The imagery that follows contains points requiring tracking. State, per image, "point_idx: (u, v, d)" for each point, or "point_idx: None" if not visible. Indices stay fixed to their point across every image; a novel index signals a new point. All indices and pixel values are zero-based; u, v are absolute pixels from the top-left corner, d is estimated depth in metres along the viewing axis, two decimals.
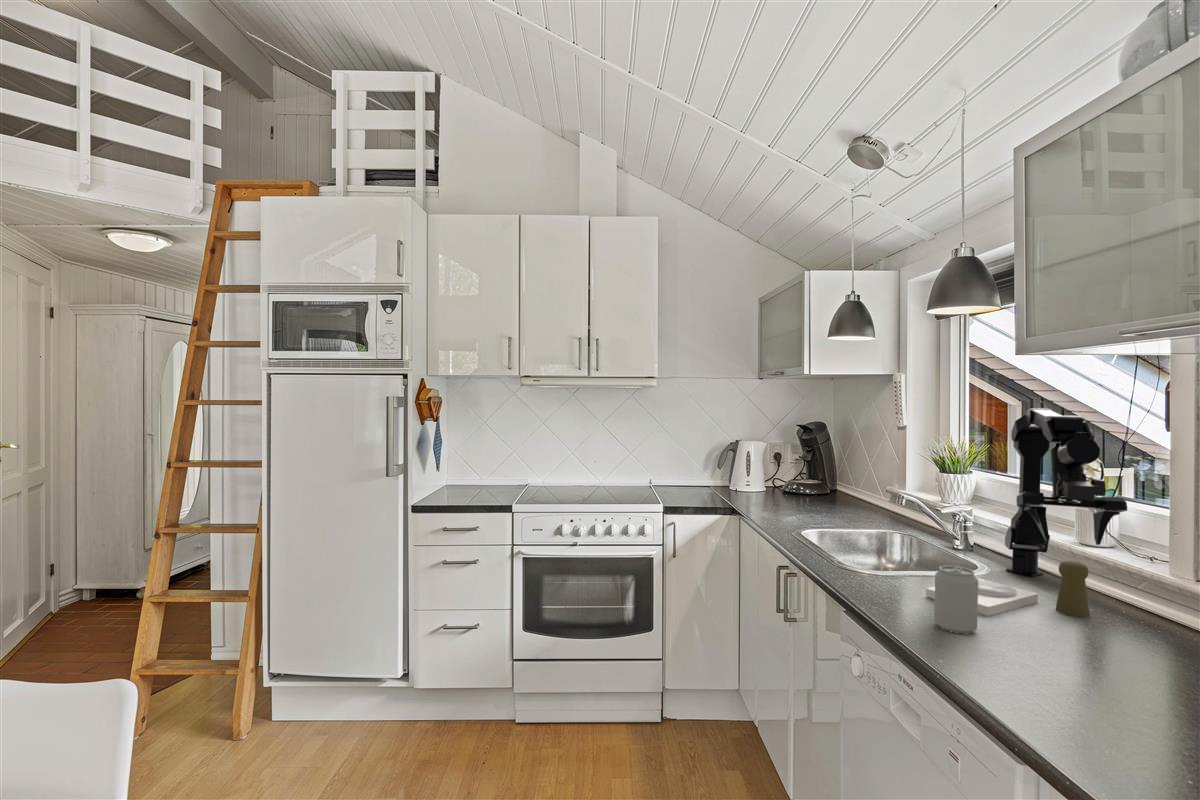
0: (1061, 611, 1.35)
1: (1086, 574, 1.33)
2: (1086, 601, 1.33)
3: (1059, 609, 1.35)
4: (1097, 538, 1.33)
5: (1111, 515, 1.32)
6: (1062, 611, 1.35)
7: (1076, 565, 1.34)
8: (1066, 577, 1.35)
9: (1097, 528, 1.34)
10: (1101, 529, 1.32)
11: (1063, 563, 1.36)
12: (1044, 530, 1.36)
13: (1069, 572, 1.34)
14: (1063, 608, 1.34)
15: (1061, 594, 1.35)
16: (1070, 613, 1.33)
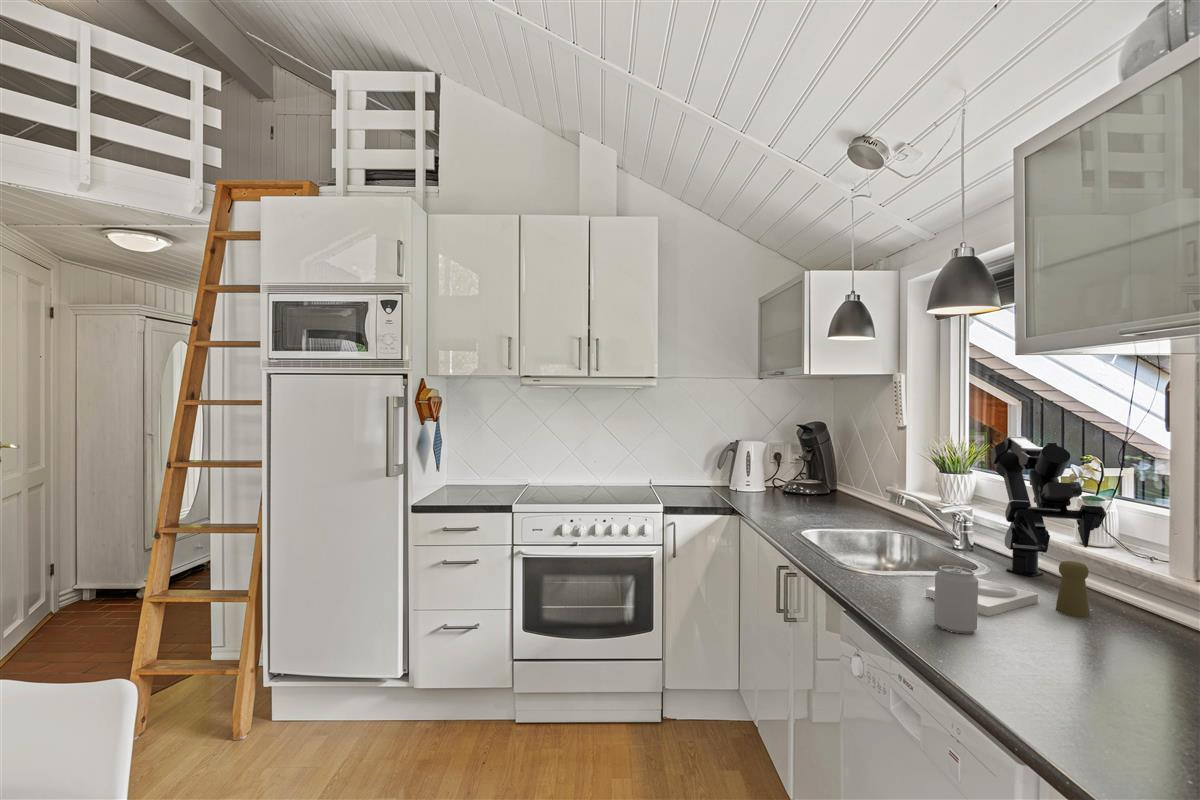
0: (1061, 611, 1.35)
1: (1086, 574, 1.33)
2: (1086, 601, 1.33)
3: (1059, 609, 1.35)
4: (1084, 540, 1.41)
5: (1092, 518, 1.42)
6: (1062, 611, 1.35)
7: (1076, 565, 1.34)
8: (1066, 577, 1.35)
9: (1082, 533, 1.43)
10: (1086, 531, 1.42)
11: (1063, 563, 1.36)
12: (1034, 532, 1.45)
13: (1069, 572, 1.34)
14: (1063, 608, 1.34)
15: (1061, 594, 1.35)
16: (1070, 613, 1.33)
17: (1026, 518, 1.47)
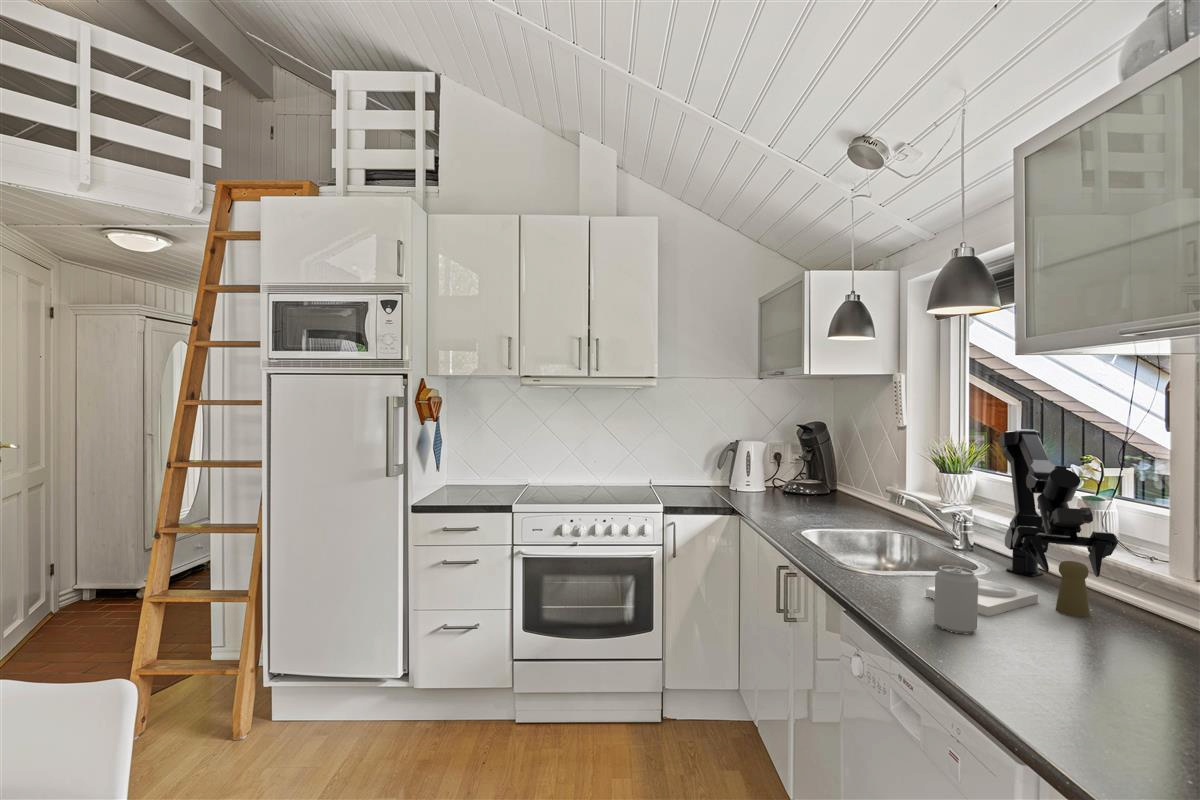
0: (1061, 611, 1.35)
1: (1086, 574, 1.33)
2: (1086, 601, 1.33)
3: (1059, 609, 1.35)
4: (1096, 569, 1.35)
5: (1104, 546, 1.36)
6: (1062, 611, 1.35)
7: (1076, 565, 1.34)
8: (1066, 577, 1.35)
9: (1094, 561, 1.37)
10: (1097, 560, 1.36)
11: (1063, 563, 1.36)
12: (1043, 560, 1.38)
13: (1069, 572, 1.34)
14: (1063, 608, 1.34)
15: (1061, 594, 1.35)
16: (1070, 613, 1.33)
17: (1034, 545, 1.41)
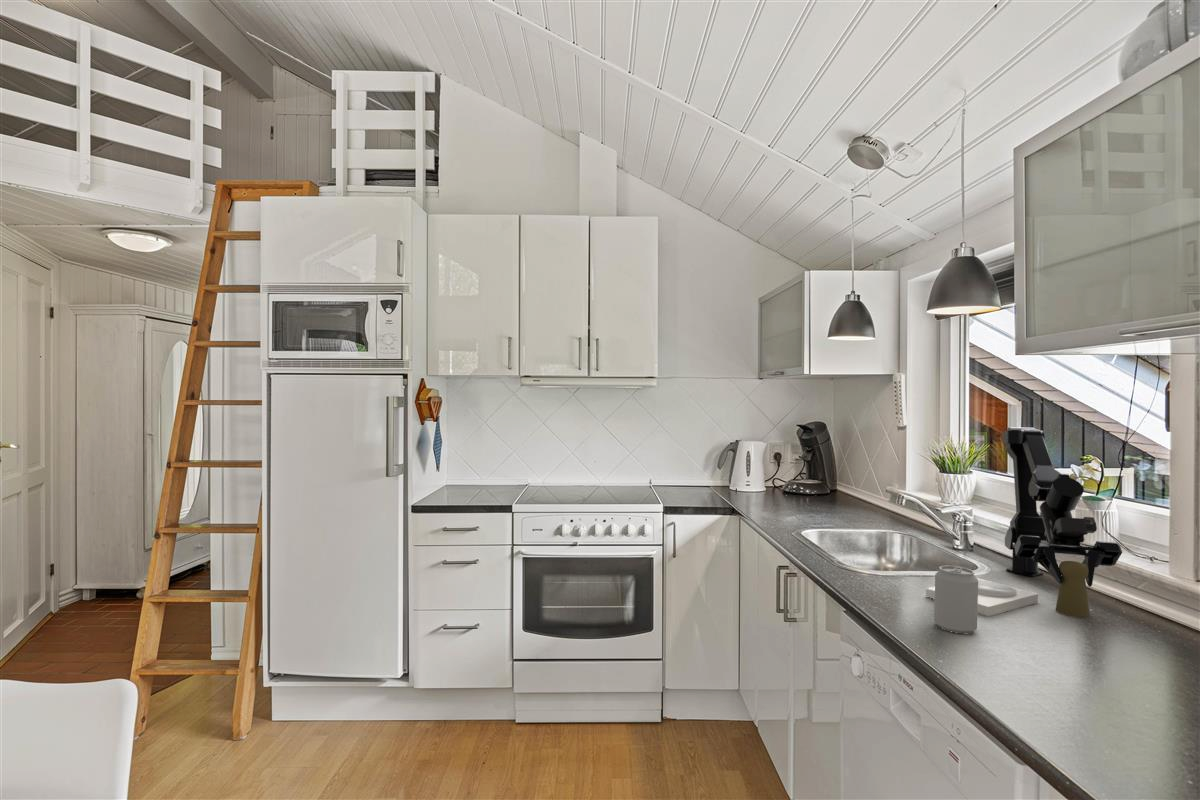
0: (1061, 611, 1.35)
1: (1086, 574, 1.33)
2: (1086, 601, 1.33)
3: (1059, 609, 1.35)
4: (1088, 579, 1.34)
5: (1096, 556, 1.35)
6: (1062, 611, 1.35)
7: (1076, 565, 1.34)
8: (1066, 577, 1.35)
9: None
10: (1090, 569, 1.34)
11: (1063, 563, 1.36)
12: (1056, 571, 1.36)
13: (1069, 572, 1.34)
14: (1063, 608, 1.34)
15: (1061, 593, 1.35)
16: (1070, 613, 1.33)
17: (1047, 556, 1.38)
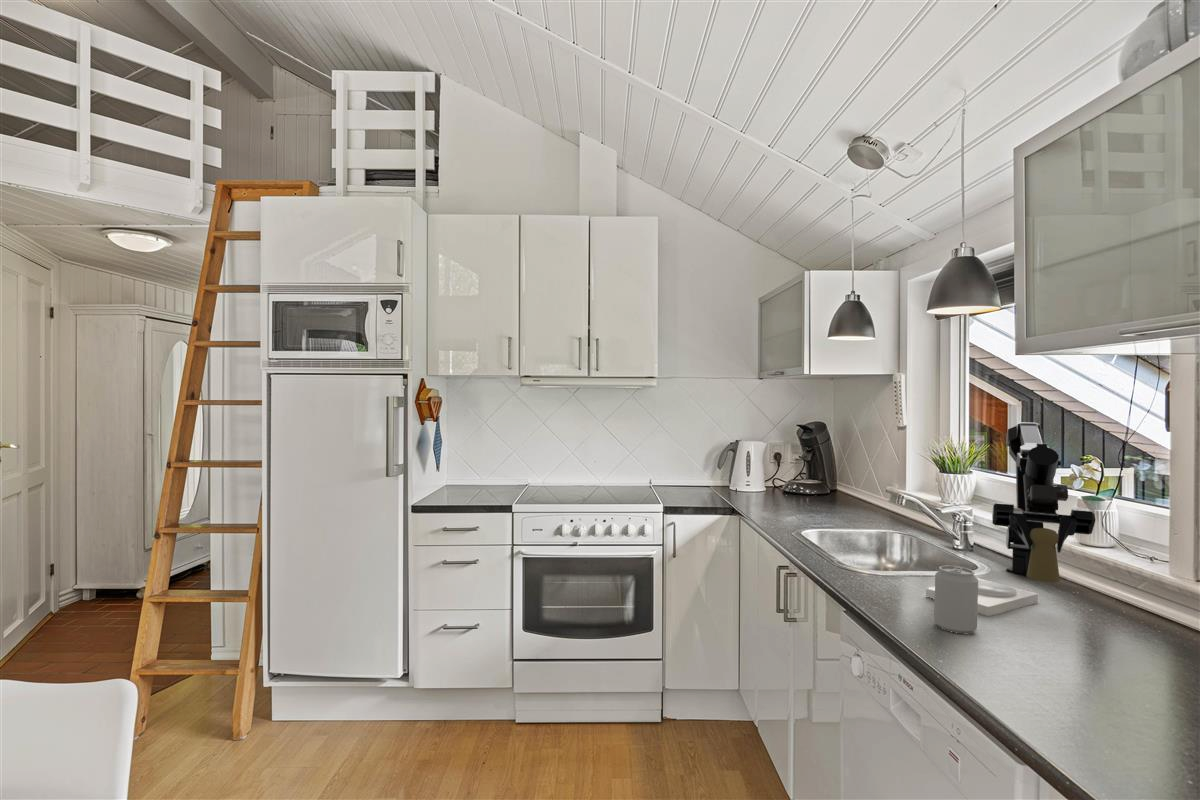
0: (1030, 576, 1.38)
1: (1055, 540, 1.35)
2: (1055, 566, 1.35)
3: (1029, 574, 1.38)
4: (1058, 545, 1.36)
5: (1068, 523, 1.37)
6: (1031, 576, 1.37)
7: (1045, 531, 1.36)
8: (1035, 543, 1.37)
9: None
10: (1061, 536, 1.36)
11: (1033, 529, 1.38)
12: (1026, 537, 1.39)
13: (1037, 538, 1.37)
14: (1032, 573, 1.37)
15: (1031, 559, 1.38)
16: (1038, 578, 1.36)
17: (1019, 522, 1.41)
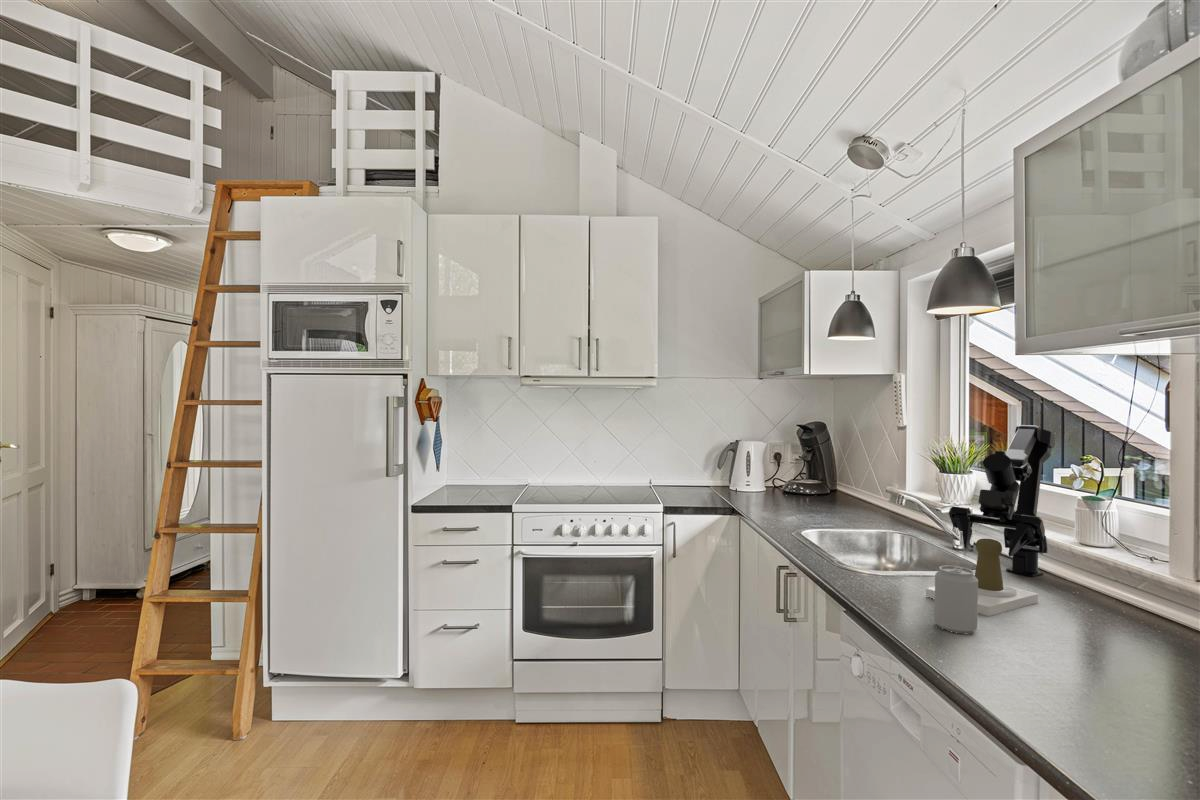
0: None
1: (995, 550, 1.42)
2: (995, 576, 1.42)
3: None
4: None
5: (1023, 529, 1.40)
6: None
7: (986, 541, 1.43)
8: (979, 552, 1.44)
9: None
10: (1014, 541, 1.41)
11: None
12: (964, 538, 1.47)
13: (979, 547, 1.44)
14: None
15: None
16: (978, 585, 1.43)
17: (961, 524, 1.50)
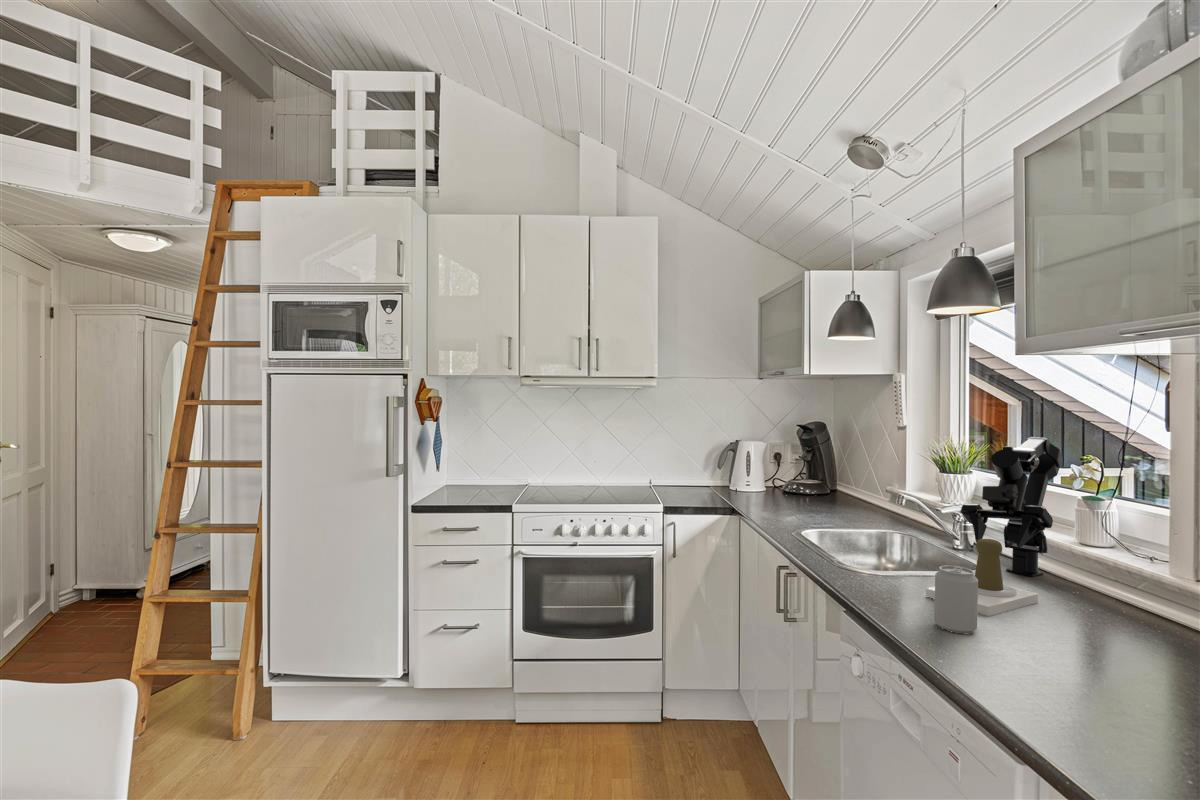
0: None
1: (995, 550, 1.42)
2: (995, 576, 1.42)
3: None
4: None
5: (1028, 519, 1.47)
6: None
7: (986, 541, 1.43)
8: (979, 553, 1.45)
9: None
10: (1021, 532, 1.47)
11: (979, 540, 1.45)
12: (975, 534, 1.55)
13: (979, 547, 1.44)
14: None
15: (976, 568, 1.45)
16: (978, 585, 1.43)
17: (972, 521, 1.57)
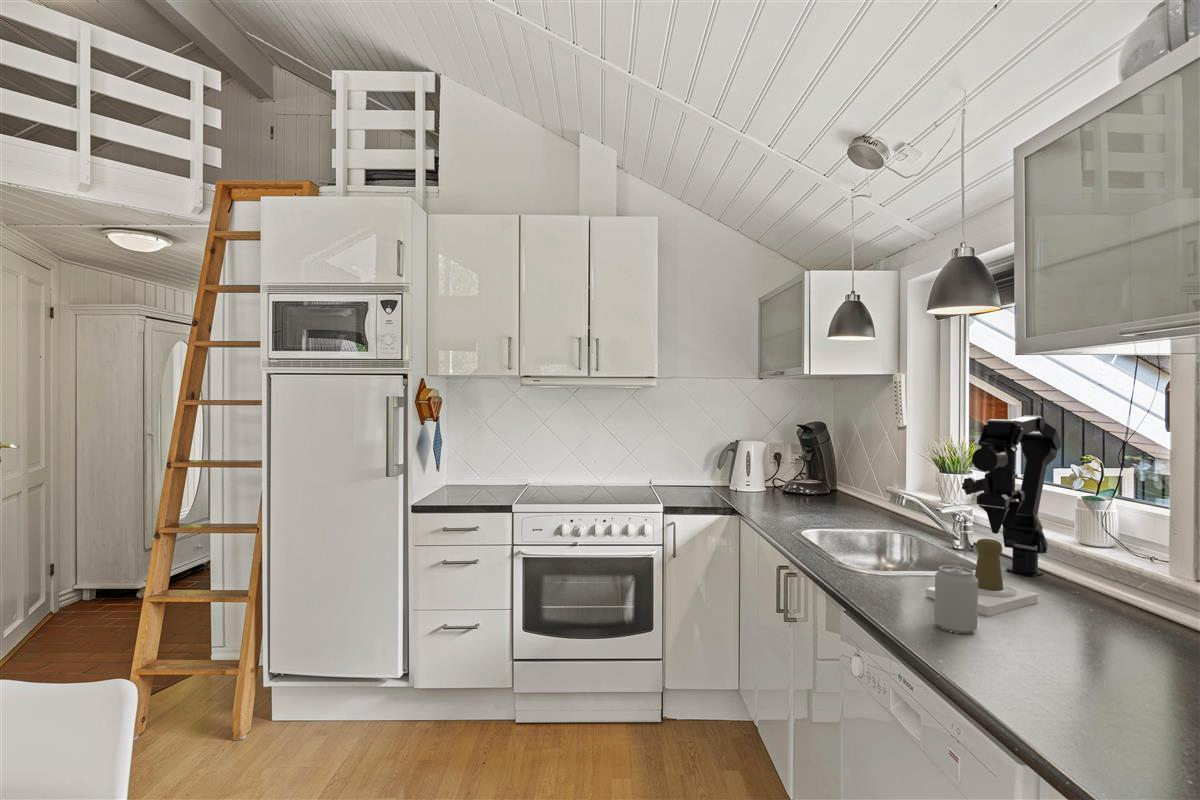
0: None
1: (995, 550, 1.42)
2: (995, 576, 1.42)
3: None
4: None
5: None
6: None
7: (986, 541, 1.43)
8: (979, 553, 1.45)
9: None
10: None
11: (979, 540, 1.45)
12: None
13: (979, 547, 1.44)
14: None
15: (976, 568, 1.45)
16: (978, 585, 1.43)
17: None
